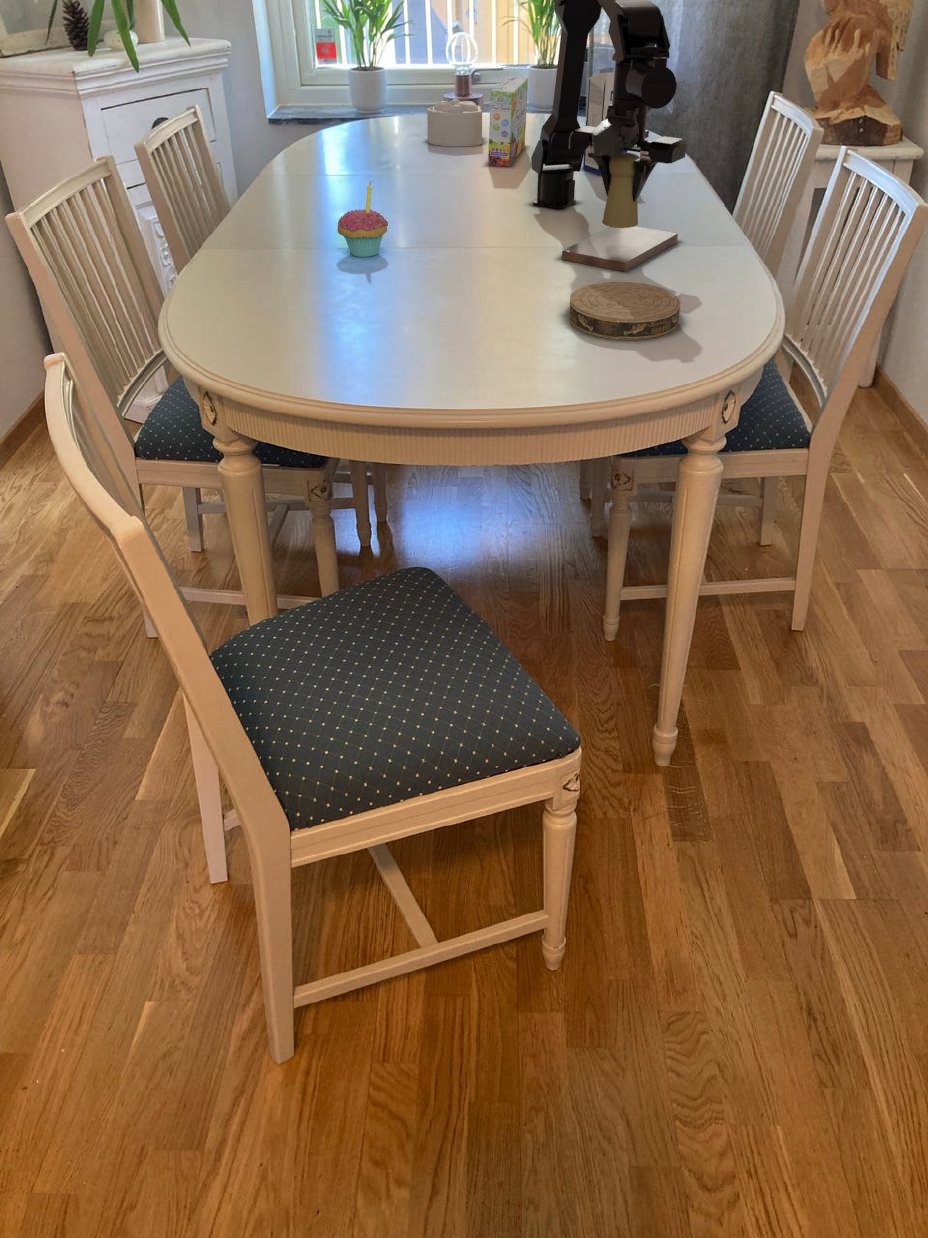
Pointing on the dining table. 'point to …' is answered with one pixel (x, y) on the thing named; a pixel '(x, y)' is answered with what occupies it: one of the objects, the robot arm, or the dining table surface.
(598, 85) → the milk carton
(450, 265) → the dining table surface
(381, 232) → the cupcake
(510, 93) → the snack box
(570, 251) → the serving board
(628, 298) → the wood slice
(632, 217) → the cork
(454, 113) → the lumpy-topped squat cylinder
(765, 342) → the dining table surface
